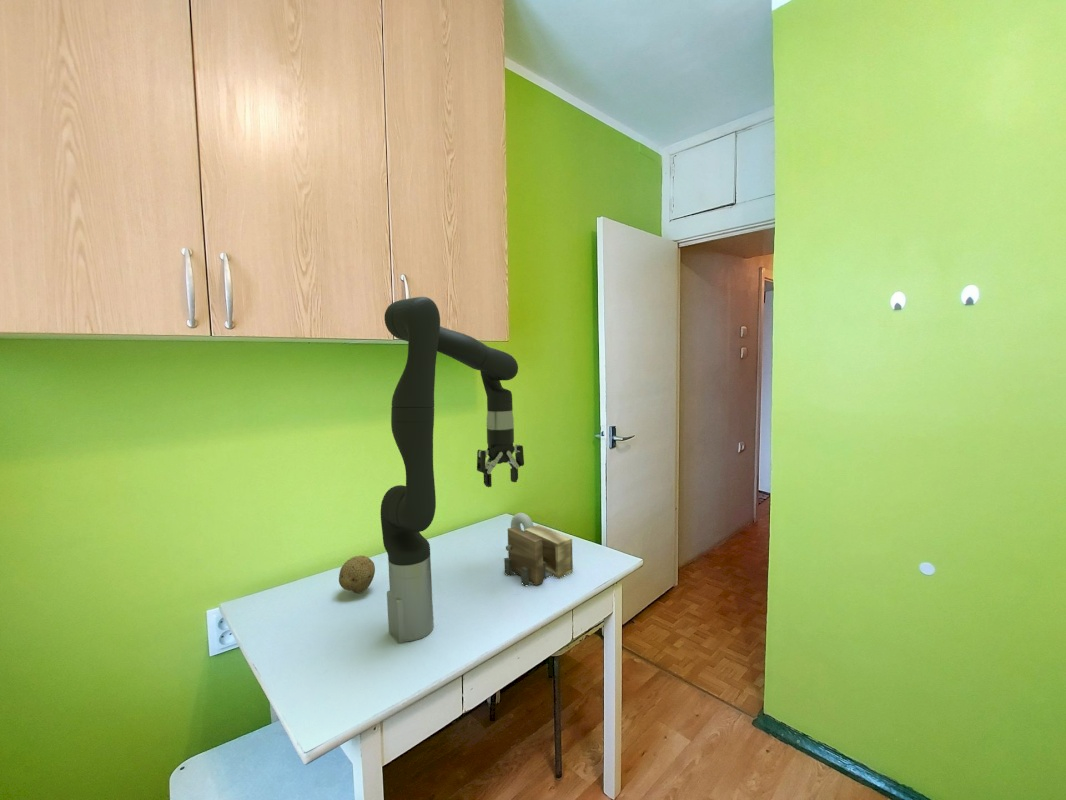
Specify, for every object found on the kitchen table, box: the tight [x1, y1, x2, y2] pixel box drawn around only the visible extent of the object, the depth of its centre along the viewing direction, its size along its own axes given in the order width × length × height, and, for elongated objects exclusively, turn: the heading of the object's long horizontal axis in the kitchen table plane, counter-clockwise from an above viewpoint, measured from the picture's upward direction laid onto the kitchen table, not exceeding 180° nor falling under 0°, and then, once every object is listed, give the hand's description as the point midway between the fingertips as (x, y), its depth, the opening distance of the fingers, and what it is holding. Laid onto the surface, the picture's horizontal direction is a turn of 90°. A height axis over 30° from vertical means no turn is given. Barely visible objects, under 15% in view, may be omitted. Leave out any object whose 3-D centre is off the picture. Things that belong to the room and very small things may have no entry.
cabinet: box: [503, 524, 574, 586], centre depth 133 cm, size 15×15×10 cm
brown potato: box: [338, 555, 376, 594], centre depth 123 cm, size 9×9×10 cm
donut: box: [510, 512, 535, 531], centre depth 155 cm, size 10×4×10 cm, turn 45°
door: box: [505, 527, 544, 586], centre depth 130 cm, size 4×13×12 cm, turn 38°
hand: (501, 484), depth 130 cm, fingers open, 8 cm apart
